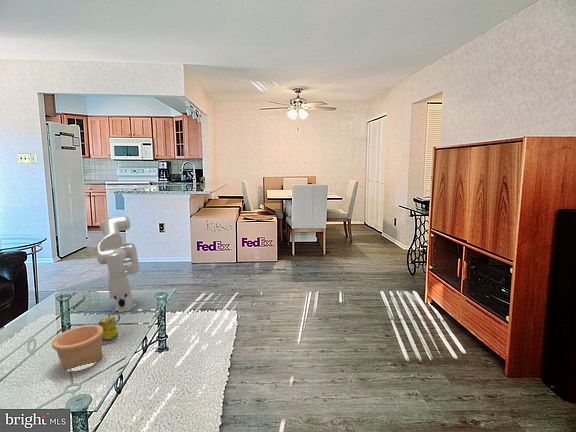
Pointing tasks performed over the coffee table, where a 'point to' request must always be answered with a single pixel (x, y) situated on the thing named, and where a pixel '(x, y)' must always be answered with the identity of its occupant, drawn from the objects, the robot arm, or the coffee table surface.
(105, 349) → the coffee table surface
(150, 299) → the coffee table surface
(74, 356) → the pottery
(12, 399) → the coffee table surface
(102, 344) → the mat
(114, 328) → the supplement box
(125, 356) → the coffee table surface
